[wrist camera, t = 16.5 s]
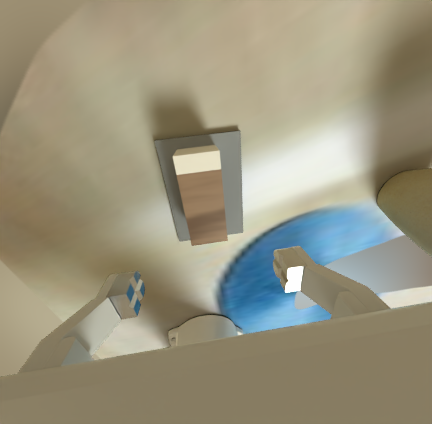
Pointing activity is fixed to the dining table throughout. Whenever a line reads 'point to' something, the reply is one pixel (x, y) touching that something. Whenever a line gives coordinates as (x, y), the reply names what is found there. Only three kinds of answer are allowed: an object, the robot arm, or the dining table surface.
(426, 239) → the plant pot
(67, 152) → the dining table surface
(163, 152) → the grey mat
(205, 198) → the walnut block
